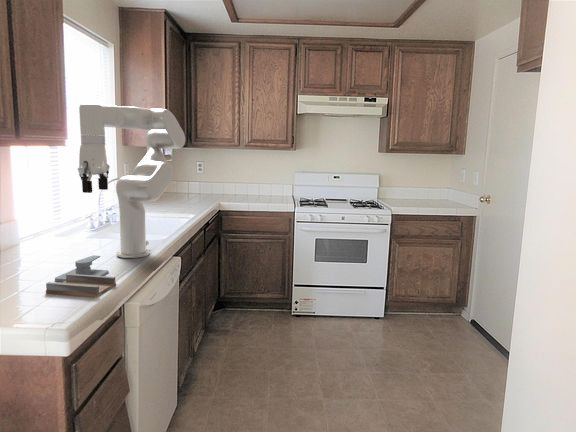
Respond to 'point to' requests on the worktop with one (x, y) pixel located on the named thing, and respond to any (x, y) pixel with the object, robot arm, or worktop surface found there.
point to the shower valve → (83, 269)
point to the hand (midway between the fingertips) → (95, 190)
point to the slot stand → (81, 285)
